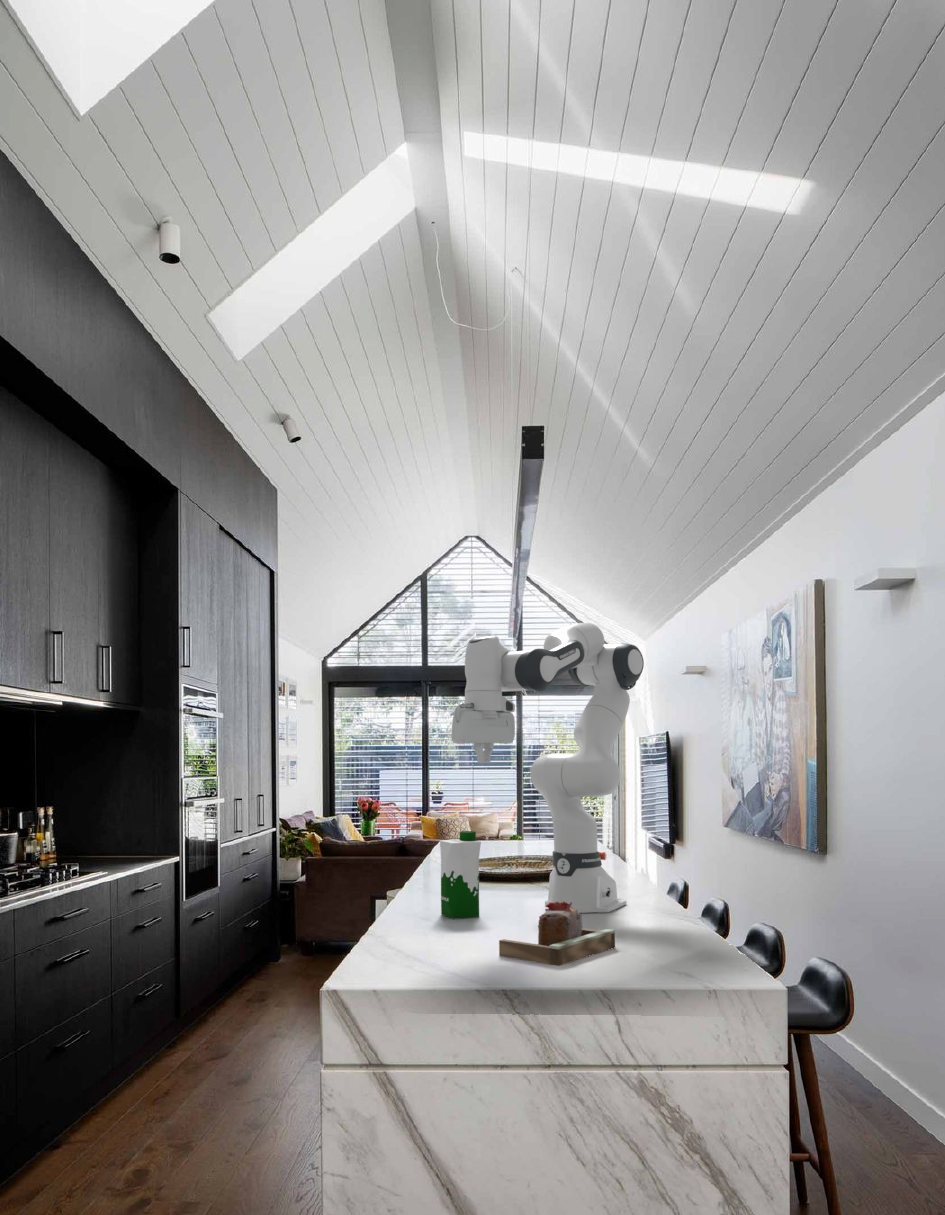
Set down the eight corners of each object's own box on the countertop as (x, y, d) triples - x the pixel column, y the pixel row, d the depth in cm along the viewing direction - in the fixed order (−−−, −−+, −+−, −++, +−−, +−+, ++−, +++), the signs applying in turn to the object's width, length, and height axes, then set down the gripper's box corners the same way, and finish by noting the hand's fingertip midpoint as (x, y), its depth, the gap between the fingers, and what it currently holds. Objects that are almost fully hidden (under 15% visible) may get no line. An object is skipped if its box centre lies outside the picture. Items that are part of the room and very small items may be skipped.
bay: (558, 939, 211) (558, 922, 212) (615, 947, 202) (614, 930, 203) (499, 956, 195) (499, 937, 195) (558, 965, 186) (558, 946, 187)
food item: (546, 943, 207) (545, 895, 208) (584, 945, 205) (583, 896, 207) (535, 957, 194) (535, 906, 195) (576, 959, 192) (575, 907, 194)
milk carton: (484, 917, 238) (484, 832, 241) (450, 920, 234) (450, 834, 237) (469, 911, 246) (469, 830, 249) (435, 914, 242) (436, 831, 245)
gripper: (466, 702, 223) (466, 764, 222) (519, 704, 239) (519, 762, 237) (445, 703, 227) (445, 763, 225) (498, 705, 243) (498, 762, 241)
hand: (483, 763), depth 232 cm, fingers closed
